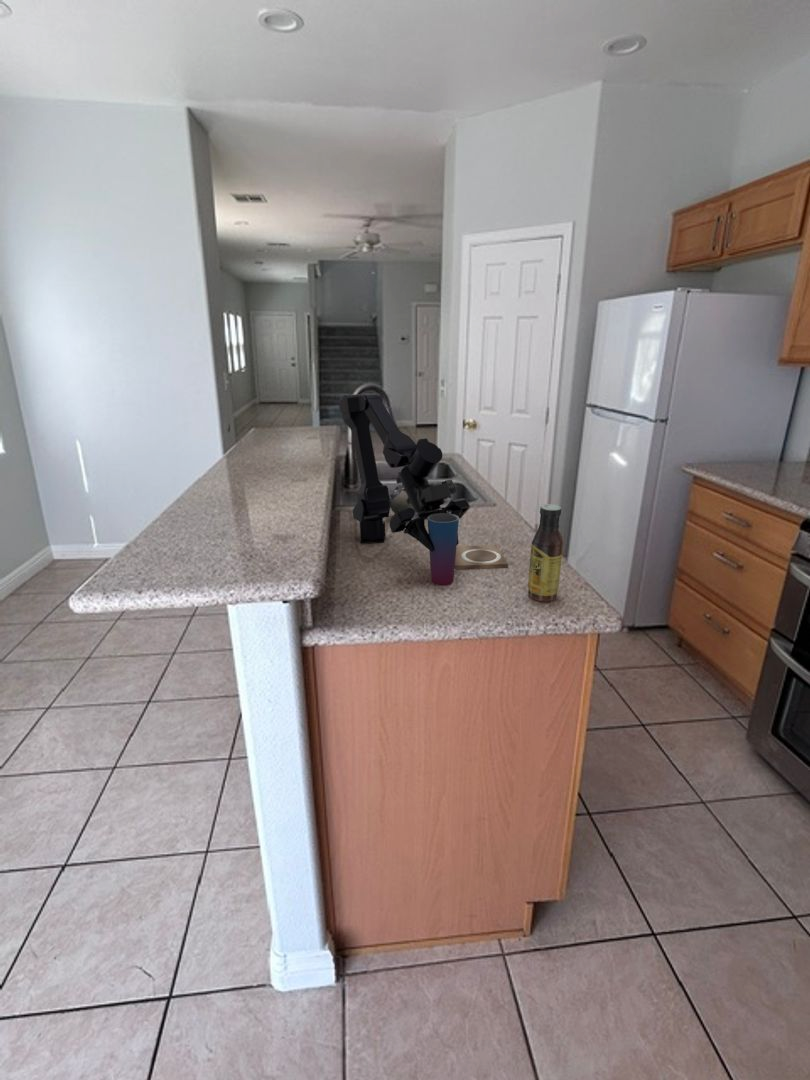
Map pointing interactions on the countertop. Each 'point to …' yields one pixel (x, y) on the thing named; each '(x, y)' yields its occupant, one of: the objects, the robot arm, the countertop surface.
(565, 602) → the countertop surface
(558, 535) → the sauce bottle
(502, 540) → the countertop surface
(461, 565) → the board
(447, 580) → the cup
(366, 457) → the robot arm
